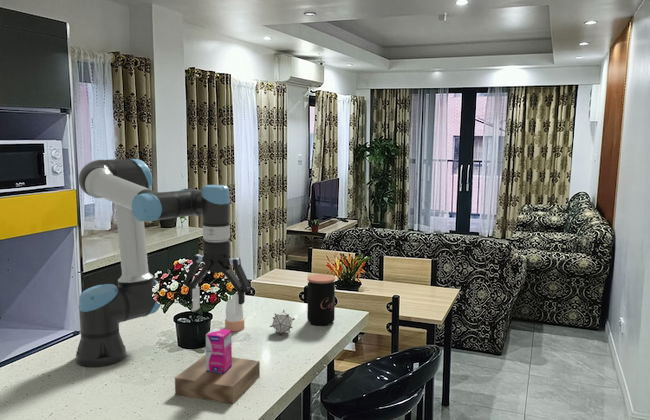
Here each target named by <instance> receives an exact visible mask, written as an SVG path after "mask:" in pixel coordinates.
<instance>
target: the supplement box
mask: <svg viewBox="0 0 650 420" xmlns="http://www.w3.org/2000/svg"><path fill="white" fill-rule="evenodd" d="M232 344H233V343H232V331H231V330H227V329H225V328H215V327H214V328H212V329H211V330H209V332H207V333H206V334H205V355H206V372H215V373H221V374H224V373H225V372H226V371H227V370H228V369H229V368H230V367H232V356H233V353H232V352H233V351H232V346H233V345H232Z"/></svg>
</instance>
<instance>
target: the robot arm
mask: <svg viewBox="0 0 650 420" xmlns="http://www.w3.org/2000/svg"><path fill="white" fill-rule="evenodd" d="M78 185H79V187H80V189H81V190H82V191H83V192H84V193H85V194H86V195H88V196H90V197H93V198H94V199H105V200H108V201H110V202H112V203H113V204H114V205H115V212H116V213H115V214H116V226H117V234H118V246H119V257H120V258H119V259H120V267H121V276H120V277H119V278H118V279H117V284H118V285H115V284H113V283H105V284H97V285H94V286H91V287H89V288H86V289H85V290H83V291H82V292H81V293H80V295H79V298H78V299H79V300H78V311H79V327H80V340H79V342H78V347H77V350H76V354H75V360H76V361H75V362H76V364H78V365H79V366H82V367H88V368H97V367H105V366H109V365H114V364H115V363H116V364H117V363H118V362H120V361H122V360H123V359H125V357H126V355H127V353H126V352H127V350H126V346H125V344H124V341H123V339H122V337H121V333H120V323H123V322H127V321H130V320H134V319H138V318H139V319H140V318H144V317H148V316H149V315H152V314H155V313H156V312H157V311H159V309H160V307H161V306H162V304H161V305H160V304H158V303H157V302H156V301H155V300H154V299H153V298H152V294H153V292H152V288H154V287H153V286H155V285H156V284H157V283H158V282H159V281H157V280H156V279H155V278H154V275H153V274H152V273H150V271H149V264H148V251H147V241H146V239H147V238H146V229H145V222H154V221H162V220H167V219H175V218H183V217H190V216H191V217H193V216H196V217H200V218H202V238H203V241H202V252H203V255H201V253H197V254H195V255H193V257H192V263H191V266H190V268H189V270H188V272H187V275H186V277H185V279H184V280H183V286H185V287H186V286H187V287H188V288H189V297H190V299H192V311H194V312H196V311H197V310H199V309H200V307H201V306H200V304H201V301H200V297H201V296H200V286H198V285H199V284H200V282H201V281H202V280H203V278H204V277H205V276H206V275H207V274H208V272H210V273H217V274H221V273H222V275H223V276H225V277H226V278H227V280H228V282H229V281H230V282H231V284H232V285H233V286H234V288H235V289H236V290H237V293H236V294H235V316H239V315H240V314H242V305H243V304H245V301H246V299H245V294H246V293H247V292H249V291H251V289H252V286H251V284H250V282H249V280H248V277H247V275H246V273H245V271H244V269H243V266H242V261H241V258H240V257H236V258H231V256H230V254H231V241H230V240H229V239H230V238H231V230H230V229H231V225H230V224H231V223H230V221H231V219H230V218H231V216H230V215H231V214H230V213H231V211H230V209H231V204H230V203H231V198H230V189H229V188H230V187H228V186H227V185H224V184H207V185H206V184H205V185H204V186H202V189H201V190H200V189H195V188H182V189H179V190H175V191H172V190H171V191H162V192H160V191H156V190H152V186H153V176H152V171H151V169H150V167H149V166H148V165H147V163H146V162H145V161H143V160H141V159H138V158H117V159H114V158H113V159H96V160H93V161H90V162H88V163H86V164H85V165H84V166H83V167H82V168H81V170H80V172H79V174H78ZM201 262H202V263H204V266H203V267H202V268H201V269H200V271H199V273H198V274H197V275H196V273H197V271H198V269H199V267H200V265H201ZM230 264H231V266H232V267H233V269H232V267H231V266H230ZM233 270H234V271H233ZM234 272H235V273H234ZM195 275H196V276H195Z"/></svg>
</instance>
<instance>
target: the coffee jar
mask: <svg viewBox="0 0 650 420" xmlns="http://www.w3.org/2000/svg"><path fill="white" fill-rule="evenodd" d="M307 280H308V282H307V311H306V312H307V313H306V314H307V316H306V317H307V318H306V319H307V321H308V323H309V324H310V325H312V326H316V327H325V326H330V325H332V324H333V322H335V309H336V307H335V306H336V305H335V304H336V303H335V297H336V296H335V295H336V291H335V290H336V287H335V285H336V284H335V280H336V278H335V276H333V275H330V274H325V273H324V274H323V273H322V274H321V273H320V274H319V273H317V274H312V275H309V276H308V277H307Z"/></svg>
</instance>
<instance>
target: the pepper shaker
mask: <svg viewBox="0 0 650 420" xmlns="http://www.w3.org/2000/svg"><path fill="white" fill-rule="evenodd" d="M232 297H233V300H232V301H228V302H227V301H226V305H225V306H226V307H225V320H224V329H227V330H231V332H239V331H243V330H244V329H245V318H244V306H243V304H242V314H240V315H239V316H235V296H232Z"/></svg>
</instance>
